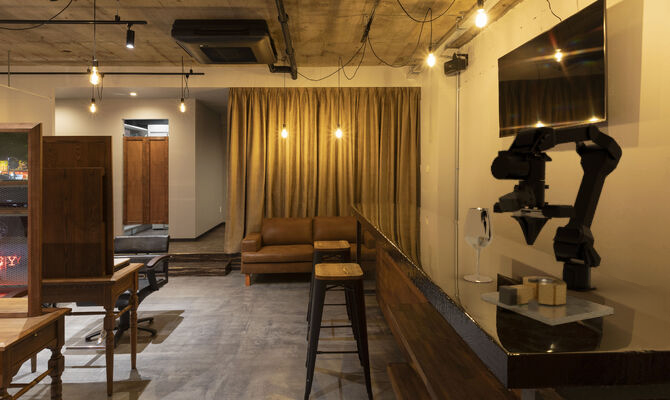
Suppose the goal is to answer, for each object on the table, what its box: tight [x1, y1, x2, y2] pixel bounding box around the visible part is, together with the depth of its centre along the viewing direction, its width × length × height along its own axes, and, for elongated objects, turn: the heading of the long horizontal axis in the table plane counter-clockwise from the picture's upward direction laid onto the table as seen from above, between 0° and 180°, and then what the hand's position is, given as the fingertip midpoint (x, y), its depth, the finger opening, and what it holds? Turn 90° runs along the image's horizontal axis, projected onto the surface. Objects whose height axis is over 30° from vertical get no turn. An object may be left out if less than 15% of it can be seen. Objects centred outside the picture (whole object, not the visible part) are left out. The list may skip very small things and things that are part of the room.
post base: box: [480, 276, 615, 326], centre depth 83 cm, size 18×18×6 cm
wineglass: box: [463, 207, 495, 284], centre depth 106 cm, size 8×8×20 cm
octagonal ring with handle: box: [498, 275, 567, 306], centre depth 81 cm, size 8×15×5 cm, turn 112°
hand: (530, 245), depth 92 cm, fingers closed
